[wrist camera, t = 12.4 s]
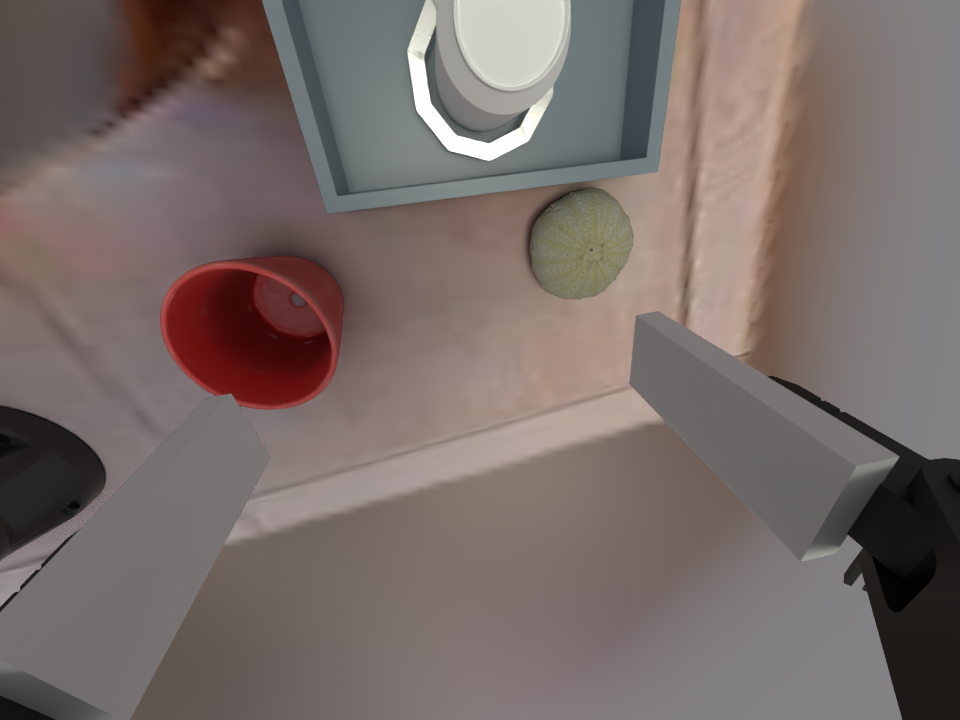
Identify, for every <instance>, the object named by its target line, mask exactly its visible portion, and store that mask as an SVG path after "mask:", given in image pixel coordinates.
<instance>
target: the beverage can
mask: <svg viewBox="0 0 960 720" xmlns="http://www.w3.org/2000/svg"><path fill="white" fill-rule="evenodd" d="M570 34H571V4H570V0H438V6H437V16H436V49H435V78H436V86H437V91H438V94H439V97H440V100H441V102H442V104H443V106H444V108H445V110H446V111H447V113H448V114H449V115H450V117H451V118H452V119H453V120H454V121H455V122H457V123H458V124H459V125H461V126H462V127H464V128H466V129H469V130H472V131H478V132H483V131H489V130H493V129H495V128H497V127H499V126H501V125H503V124H504V123H506V122H508V121H509V120H511V119H513V118H514V117H516V116H517V115H519V114H520V113H522V112H524V111H525V110H527V109H528V108H530V107H532V106H533V105H534V104H536V103H537V102H538V101H539V100H541V99H542V98H543V97H544V96H545V95H546V94H547V92H548V91H549V90H550V89H551V87H552V86H553V84H554V83H555V81H556V80H557V78H558V76H559V74H560V72H561V70H562V67H563V65H564V62H565V59H566V56H567V52H568V47H569V42H570Z"/></svg>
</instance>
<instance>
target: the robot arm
mask: <svg viewBox="0 0 960 720" xmlns="http://www.w3.org/2000/svg"><path fill="white" fill-rule="evenodd" d="M629 384H630V385H631V386H632V387H633V388H634V389H635V390H636V391H637V392H638V393H639V394H640V395H641V397H642V398H643V399H644V400H645V401H646V402H647V403H648V404H649V405H650V406H651V407H652V408H653V409H654V410H655V411H656V412H657V413H658V414H659V415H660V416H661V417H662V418H663V419H664V420H665V421H666V423H667V424H668V425H669V426H670V427H671V428H672V429H673V430H674V431H675V432H676V433H677V434H678V435H679V436H680V437H681V438H682V439H683V440H684V441H685V442H686V443H687V444H688V445H689V446H690V447H691V448H692V450H693V451H694V452H695V453H696V454H697V455H698V456H699V457H700V458H701V459H702V460H703V461H704V462H705V463H706V464H707V465H708V466H709V467H710V468H711V469H712V470H713V471H714V472H715V473H716V474H717V476H718V477H719V478H720V479H721V480H723V482H724V483H725V484H726V485H727V486H728V487H729V488H730V489H731V490H732V491H733V492H734V493H735V494H736V495H737V496H738V497H739V498H740V499H741V500H742V501H743V503H744V504H745V505H746V506H747V507H748V508H749V509H750V510H751V511H752V512H753V513H754V514H755V515H756V516H757V517H758V518H759V519H760V520H761V521H762V522H763V523H764V524H765V525H766V526H767V527H768V529H769V530H771V532H772V533H773V534H774V535H775V536H776V537H777V538H778V539H779V540H780V541H781V542H782V543H783V544H784V545H785V546H786V547H787V548H788V549H789V550H790V551H791V552H792V554H794V556H795V557H796V558H797V559H798V560H799V561H800V562H802V561H806V560H810V559H814V558H818V557H822V556H827V555H831V554H835V553H836V552H837V550H838V549H839V547H840V546H841V544H842V543H843V541H844V540H845V538H846V537H847V535H849V536H850V537H851V538H853V539H854V540H855V541H856V542H857V543H858V544H860V545H861V546H862V547H863V549H862V550H861V551H860V553H859V554H858V555H857V557H856V558H855V560H854V561H853V563H852V564H851V565H850V566H849V568H848V569H847V571H846V572H845V574H844V583H845V584H847V585H850V586H852V584H853V583H854V582H855V580H856V579H857V578H858V576H859V575H860V574H861V573H862V574H863V578H864V582H865V585H864V587H863V590H864V591H867V593H868V596H869V600H870V603H871V607H872V611H873V615H874V618H875V622H876V625H877V629H878V632H879V636H880V640H881V644H882V647H883V651H884V654H885V658H886V662H887V665H888V669H889V673H890V676H891V680H892V684H893V687H894V691H895V695H896V698H897V702H898V705H899V709H900V713H901V716H902V720H960V460H956V459H948V458H942V459H934V460H929V459H927V458H924V457H923V456H921V455H919V454H917V453H916V452H914V451H912V450H910V449H909V448H907V447H905V446H903V445H902V444H900V443H898V442H896V441H895V440H893V439H891V438H889V437H888V436H886V435H884V434H882V433H881V432H879V431H877V430H876V429H874V428H872V427H870V426H869V425H867V424H865V423H863V422H862V421H860V420H858V419H856V418H855V417H853V416H851V415H849V414H848V413H846V412H840V409H839V408H837V407H835V406H834V405H832V404H830V403H828V402H826V401H821V398H819V397H818V396H816V395H814V394H813V393H811V392H809V391H808V390H806V389H804V388H802V387H800V386H799V385H796V384H793V383H791V382H788V381H785V380H782V379H779V378H777V377H774V376H768V377H767V376H765V375H763V374H762V373H760V372H758V371H757V370H755V369H753V368H752V367H750V366H748V365H747V364H745V363H743V362H742V361H740V360H738V359H737V358H735V357H733V356H732V355H730V354H728V353H727V352H725V351H723V350H722V349H720V348H718V347H717V346H715V345H713V344H712V343H710V342H708V341H707V340H705V339H703V338H702V337H700V336H698V335H697V334H695V333H693V332H692V331H690V330H689V329H687V328H685V327H684V326H682V325H680V324H679V323H677V322H675V321H674V320H672V319H670V318H669V317H667V316H665V315H664V314H662V313H660V312H659V311H657V312H651V313H646V314H641V315H636V321H635V331H634V342H633V352H632V362H631V373H630V383H629ZM270 458H271V456H270V455H269V453H268V451H267V450H266V448H265V447H264V445H263V443H262V442H261V440H260V439H259V437H258V435H257V434H256V432H255V431H254V429H253V427H252V426H251V424H250V423H249V421H248V419H247V418H246V416H245V415H244V413H243V411H242V410H241V408H240V407H239V405H238V403H237V402H236V400H235V399H234V397H233V395H232V394H231V393H230V394H225V395H220V396H215V397H210V398H206V399H205V400H204V401H203V402H202V403H201V404H200V405H199V406H198V407H197V408H196V409H195V410H194V411H193V412H192V413H191V414H190V415H189V416H188V417H187V418H186V419H185V421H184V422H183V423H182V424H181V425H180V426H179V427H178V428H177V429H176V430H175V431H174V432H173V433H172V434H171V435H170V436H169V437H168V438H167V439H166V440H165V441H164V442H163V443H162V444H161V445H160V447H159V448H158V449H157V450H156V451H155V452H154V453H153V454H152V455H151V456H150V457H149V458H148V459H147V460H146V461H145V462H144V463H143V464H142V465H141V466H140V467H139V468H138V469H137V470H136V471H135V473H134V474H133V475H132V476H131V477H130V478H129V479H128V480H127V481H126V482H125V483H124V484H123V485H122V486H121V487H120V488H119V489H118V490H117V491H116V492H115V493H114V494H113V495H112V496H111V497H110V499H109V500H108V501H107V502H106V503H105V504H104V505H103V506H102V507H101V508H100V509H99V510H98V511H97V512H96V513H95V514H94V515H93V516H92V517H91V518H90V519H89V520H88V521H87V522H86V523H85V525H84V526H83V527H82V528H80V529H79V530H78V531H77V532H75V533H74V534H73V535H71V536H70V537H69V538H67V539H66V540H65V541H64V542H63V543H62V544H61V545H60V546H59V547H58V548H57V549H56V550H55V551H54V552H53V553H52V554H51V555H50V556H49V557H48V558H47V560H46V561H45V562H44V563H43V564H42V565H41V566H42V567H41V569H40V570H36V571H35V572H34V573H33V574H32V575H31V576H30V577H29V578H28V579H27V580H26V581H25V582H24V583H23V584H22V585H21V586H20V591H19V592H15V593H13V594H12V596H11V597H10V598H9V599H8V600H7V601H6V602H5V603H4V604H3V605H2V606H1V607H0V720H130V718H131V716H132V714H133V713H134V711H135V709H136V707H137V705H138V703H139V701H140V700H141V698H142V696H143V694H144V692H145V690H146V688H147V686H148V685H149V683H150V681H151V679H152V677H153V675H154V674H155V672H156V670H157V668H158V666H159V664H160V662H161V660H162V658H163V657H164V655H165V653H166V651H167V649H168V647H169V646H170V644H171V642H172V640H173V638H174V636H175V634H176V633H177V631H178V629H179V627H180V625H181V623H182V621H183V619H184V618H185V616H186V614H187V612H188V610H189V608H190V607H191V605H192V603H193V601H194V599H195V597H196V595H197V593H198V592H199V590H200V588H201V586H202V584H203V582H204V580H205V579H206V576H207V575H208V573H209V571H210V569H211V567H212V566H213V564H214V562H215V560H216V558H217V556H218V554H219V553H220V551H221V549H222V547H223V545H224V543H225V541H226V539H227V538H228V536H229V534H230V532H231V530H232V528H233V526H234V525H235V523H236V521H237V519H238V517H239V515H240V513H241V512H242V510H243V508H244V506H245V504H246V502H247V500H248V499H249V497H250V495H251V493H252V491H253V489H254V487H255V485H256V484H257V482H258V480H259V478H260V476H261V474H262V472H263V471H264V469H265V467H266V465H267V463H268V461H269V459H270ZM104 482H105V476H104V471H103V468H102V466H101V464H100V462H99V460H98V459H97V457H96V456H95V455H94V453H93V452H92V451H91V450H90V449H89V448H88V447H87V446H86V445H85V444H84V443H82V442H81V441H80V440H79V439H77V438H76V437H74V436H73V435H71V434H70V433H68V432H67V431H65V430H63V429H62V428H60V427H58V426H56V425H54V424H52V423H50V422H47V421H45V420H43V419H40V418H38V417H35V416H32V415H29V414H26V413H23V412H20V411H16V410H12V409H7V408H2V407H0V561H1V560H2V559H3V558H5V557H6V556H8V555H9V554H11V553H13V552H14V551H16V550H18V549H20V548H21V547H23V546H25V545H27V544H28V543H30V542H32V541H33V540H35V539H37V538H39V537H40V536H42V535H44V534H46V533H47V532H49V531H51V530H52V529H54V528H56V527H58V526H59V525H61V524H63V523H65V522H66V521H68V520H70V519H71V518H73V517H75V516H76V515H77V514H79V513H80V512H81V511H82V510H83V509H85V508H86V507H87V506H88V505H89V504H90V503H91V502H92V501H93V500H94V499H95V498H96V497H97V496H98V495H99V494H100V492H101V491H102V489H103V486H104Z"/></svg>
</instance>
